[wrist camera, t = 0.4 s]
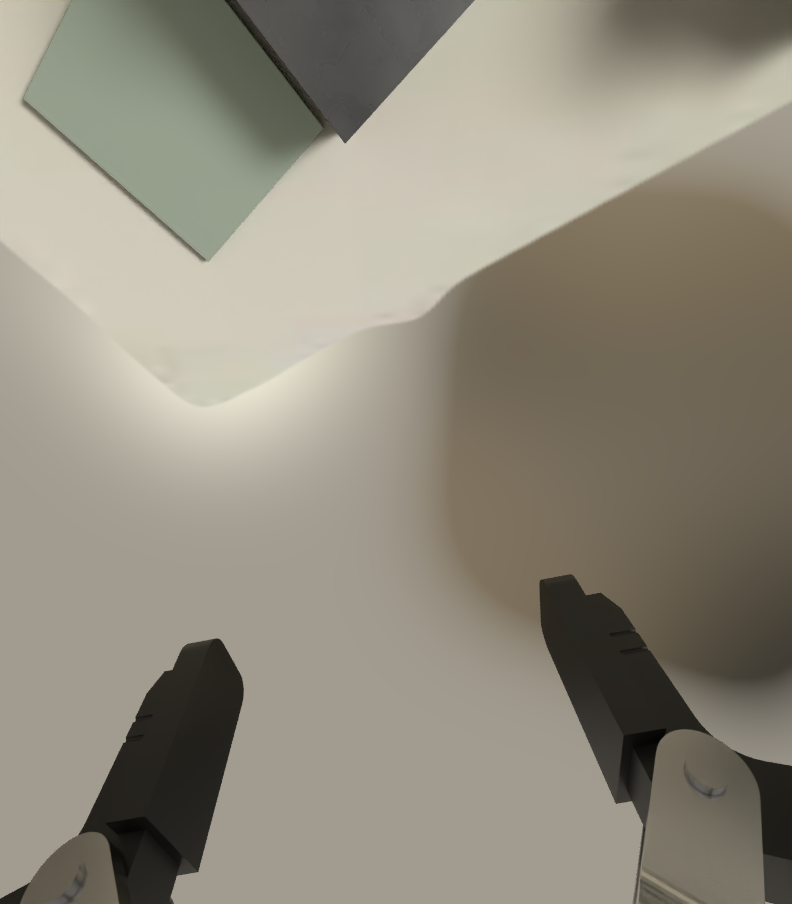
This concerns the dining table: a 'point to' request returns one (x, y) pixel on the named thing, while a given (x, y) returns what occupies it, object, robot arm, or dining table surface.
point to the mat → (174, 108)
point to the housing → (351, 47)
